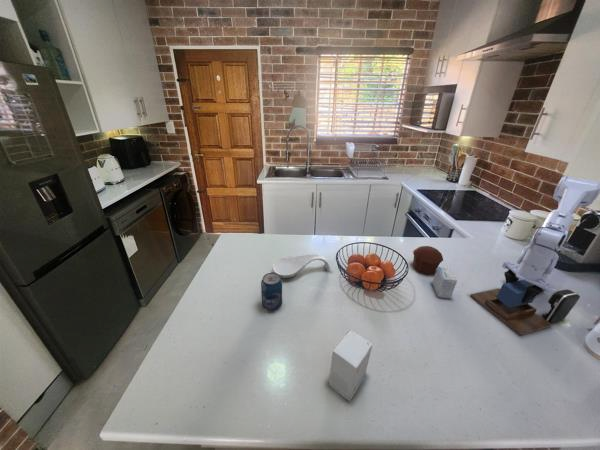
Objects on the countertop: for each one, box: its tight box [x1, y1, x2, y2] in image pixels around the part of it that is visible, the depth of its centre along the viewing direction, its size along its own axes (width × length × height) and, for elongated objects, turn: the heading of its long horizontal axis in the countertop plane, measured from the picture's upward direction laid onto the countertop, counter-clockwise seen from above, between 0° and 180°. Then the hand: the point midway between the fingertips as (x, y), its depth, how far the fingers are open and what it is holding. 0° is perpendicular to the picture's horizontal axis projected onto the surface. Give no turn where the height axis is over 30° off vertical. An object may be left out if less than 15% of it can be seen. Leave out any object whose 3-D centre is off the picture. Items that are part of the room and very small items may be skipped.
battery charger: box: [541, 289, 581, 323], centre depth 82 cm, size 7×4×11 cm, turn 103°
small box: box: [328, 329, 373, 402], centre depth 60 cm, size 8×6×13 cm
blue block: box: [496, 280, 537, 308], centre depth 83 cm, size 10×5×6 cm, turn 106°
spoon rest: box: [272, 253, 331, 279], centre depth 101 cm, size 24×12×7 cm, turn 103°
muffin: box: [412, 245, 444, 275], centre depth 105 cm, size 12×11×10 cm
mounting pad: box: [470, 288, 553, 337], centre depth 86 cm, size 14×18×3 cm
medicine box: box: [431, 266, 458, 300], centre depth 93 cm, size 8×4×9 cm, turn 168°
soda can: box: [260, 272, 283, 313], centre depth 82 cm, size 7×7×12 cm
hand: (515, 296), depth 84 cm, fingers closed on blue block, 5 cm apart
